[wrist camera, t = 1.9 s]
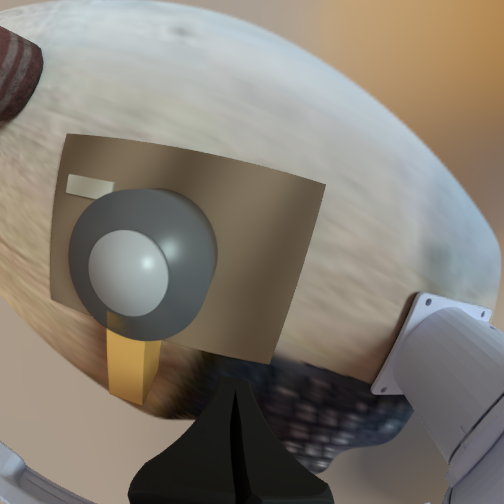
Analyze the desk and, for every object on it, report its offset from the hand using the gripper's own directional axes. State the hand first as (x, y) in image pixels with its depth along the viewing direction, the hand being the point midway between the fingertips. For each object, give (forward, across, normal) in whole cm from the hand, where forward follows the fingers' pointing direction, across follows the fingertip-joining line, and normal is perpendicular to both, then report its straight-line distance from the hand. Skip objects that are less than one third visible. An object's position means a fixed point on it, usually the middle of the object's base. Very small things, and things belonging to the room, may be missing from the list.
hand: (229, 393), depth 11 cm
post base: (+4, +5, -5) cm, 8 cm away
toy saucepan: (+3, +5, -3) cm, 6 cm away
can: (+4, +20, -14) cm, 25 cm away
